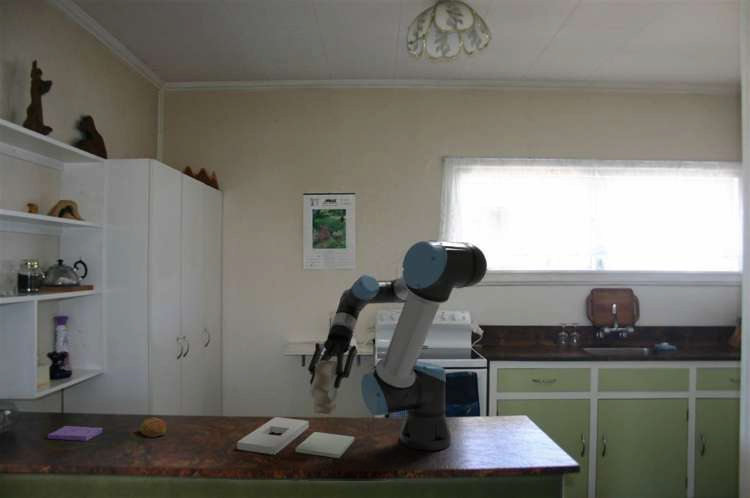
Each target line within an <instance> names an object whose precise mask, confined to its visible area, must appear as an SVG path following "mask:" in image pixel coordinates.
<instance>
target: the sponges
mask: <svg viewBox="0 0 750 498" xmlns="http://www.w3.org/2000/svg"><path fill="white" fill-rule="evenodd" d="M102 432H103V427H88V426H72V425H64V426H63V427H61V428H59V429H58V430H56V431H53V432H51V433H49V434H48V435H47V439H48V440H49V439H52V440H54V439H55V440H67V441H84V442H86V441H88V440H90V439H92V438H94V437H96V436H98V435H99V434H101V433H102Z"/></svg>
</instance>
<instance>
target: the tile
mask: <svg viewBox="0 0 750 498" xmlns="http://www.w3.org/2000/svg"><path fill="white" fill-rule="evenodd" d="M354 441H355V436H349V435H343V434H334V433H326V432H319V431H314V432H312V433H311V434H310V435H309V436H308V437H307V438H305V439H304V441H302V442H301V443H299V444H298V446H296V447H295V452H296V453H301V454H308V455H315V456H320V457H321V456H323V457H329V458H335V459H339V458H340V457H341V456H342V455H343V454H344V453H345V452H346V450H347V449H348V448H349V447H350V446H351V445H352V443H354Z"/></svg>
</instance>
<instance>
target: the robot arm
mask: <svg viewBox="0 0 750 498" xmlns="http://www.w3.org/2000/svg"><path fill="white" fill-rule="evenodd" d="M487 261H488V260H487V258H486V255H485V254H484V253H483V251H482V250H481V249H480V248H479V247H478V246H476V245H474V244H473V243H468V242H457V241H456V242H455V241H440V240H435V239H434V240H432V239H431V240H421V241H418V242H415V243H414V244H412V245H411V246H410V247H409V249H408V250H407V251H406V253H405V255H404V258H403V261H402V268H403V270H402V276H401V277H399V278H397V279H393V280H378V279H377V278H375V276H372V275H370V274H363V275H361V276H360V277H359V278H358V279H357V280H356V281H355V282H353V284H352V285H351V287H350V288H348V289H345V290H344V291H343V292H342V294H341V296H340V298H339V304H338V306H337V308H336V309H337V310H336V311H335V315H334V318H333V320H332V322H331V326H330V329H329V330H328V331H329V332H328V334H327V338H326V339H325V341H324V343H318V342H316V343H315V350H314V352H313V355H312V357H311V359H310V363H309V365H308V368H307V369H308V372H309V374H310V375H311V378H310V381H309V383H310V388H309V392H308V394H309V396H310V397H311V399H314V396H315V364H316V363H318V362H320V361H322V360H323V361H331V359H332V358H333V357H337V358H336V362H337V372H336V373H337V375H334V376H333V379H332V382H331V385H330V389H329V392H328V397H329V399H330V400H333V396H334V393H335V390H336V388H337V389H339V388H340V387H341V382H342V380H343V379H344V378H345V379H349V376H350V373H351V370H352V366H353V363H354V359H355V357H356V355H357V354H358V349H357V346H356V345H351V343H352V340H353V339H352V338H353V336H354V332H355V329H356V325H357V322H358V319H359V315H360V313H361V312H362V311H363V309H364V308H365V307H366V306H367V305H370V304H373V305H374V304H375V305H376V304H402V303H404V304H403V307H402V309H401V312H400V315H399V318H398V320H397V322H396V323H397V324H396V325H395V328H394V331H393V334H392V336H391V339H390V343H389V345H388V347H387V349H386V353H385V356H384V358H381V359H380V360H378V362H377V363H376V365H375V368H374V370H373V372H368V373H365V374H364V375H363V376H362V378H361V383H360V387H361V388H360V391H361V395H362V400H363V403H364V405H365V407H366V409H367V410H368V412H369V413H371V414H372V415H373V416H388V415H391V414H394V413H400V412H405V411H406V413H405V417H404V420H403V424H402V427H401V429H400V437H399V438H400V442H401V443H402V444H403V445H404V446H406V447H408V448H410V449H414V450H415V449H416V450H420V451H440V450H443V449H446V448H448V447H449V446H450V445H451V443H452V435H451V431H450V427H449V423H448V422H447V421H448V420H447V418H446V384H447V380H446V370H445V368H444V367H443V366H441V365H439V364H436V363H432V362H426V361H418V359H419V357H420V354H421V351H422V349H423V346H424V344H425V342H426V339H427V337H428V334H429V332H430V329H431V327H432V324H433V322H434V319H435V317H436V315H437V312H438V310H439V307H440V305H441V304H443V303H446V302H448V301H449V299H450V296H451V294H452V291H453V289H454V288H455V289H463V288H470V287H474V286H475V285H477V284H479V283H480V282H482V280H483V279H484V277H485V275H486V273H487V271H488V262H487ZM324 349H325V350H324ZM323 350H324V352H323ZM322 352H323V354H322ZM347 352H348V353H347ZM346 353H347V357H346V360H345V363H344V355H345V354H346ZM321 355H322V357H321Z"/></svg>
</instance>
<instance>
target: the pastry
mask: <svg viewBox="0 0 750 498" xmlns="http://www.w3.org/2000/svg"><path fill="white" fill-rule="evenodd" d="M139 428H140V429H139V431H140V433H141V434H142V435H144V436H146V437H148V438H156V437H159V436H162V435H165V433H167V425H166V423H165V421H164V420H163V419H161V418H157V417H149V418H147V419H146V420H145V419H144V421H143V422H142V423H141V424H140V425H139Z"/></svg>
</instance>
